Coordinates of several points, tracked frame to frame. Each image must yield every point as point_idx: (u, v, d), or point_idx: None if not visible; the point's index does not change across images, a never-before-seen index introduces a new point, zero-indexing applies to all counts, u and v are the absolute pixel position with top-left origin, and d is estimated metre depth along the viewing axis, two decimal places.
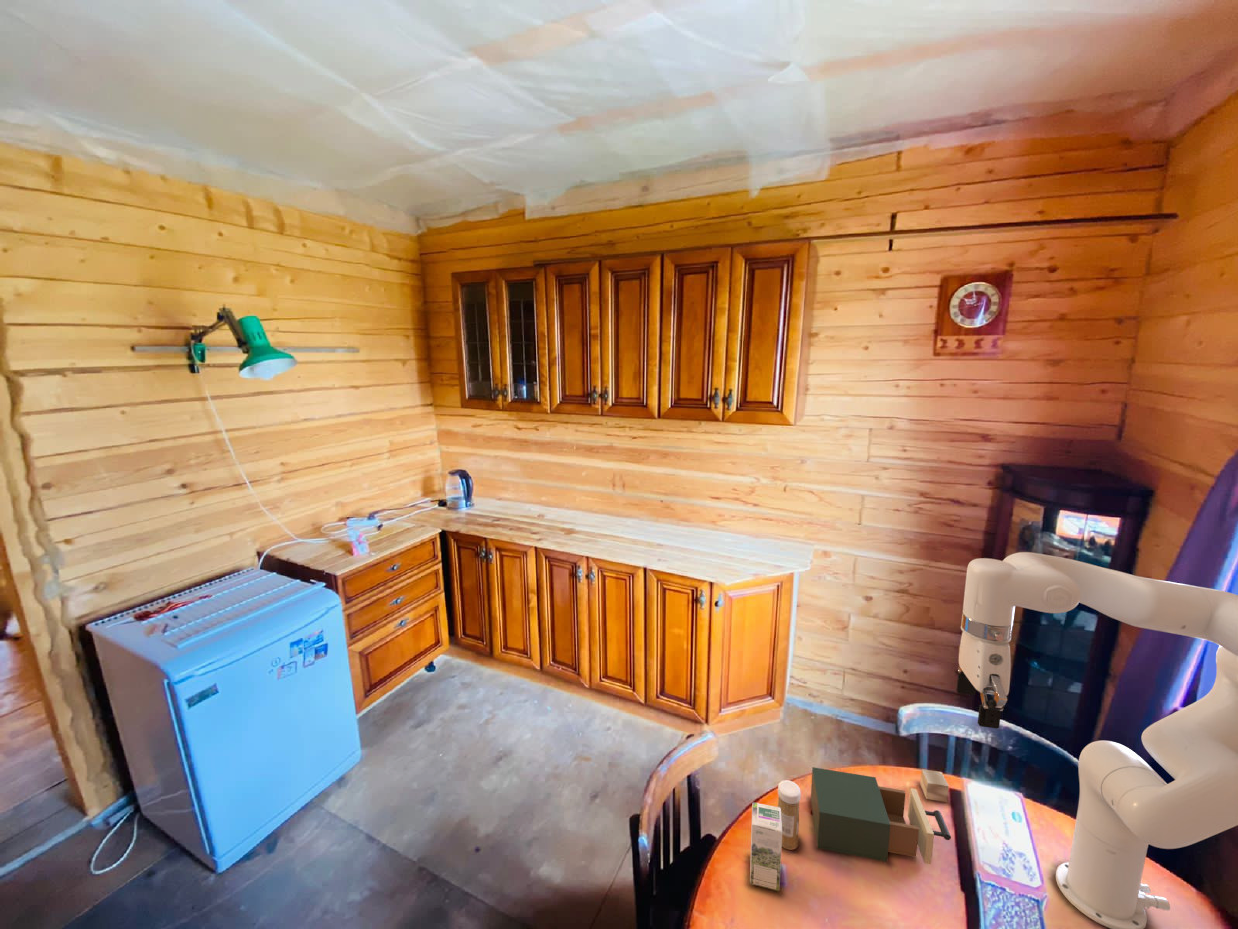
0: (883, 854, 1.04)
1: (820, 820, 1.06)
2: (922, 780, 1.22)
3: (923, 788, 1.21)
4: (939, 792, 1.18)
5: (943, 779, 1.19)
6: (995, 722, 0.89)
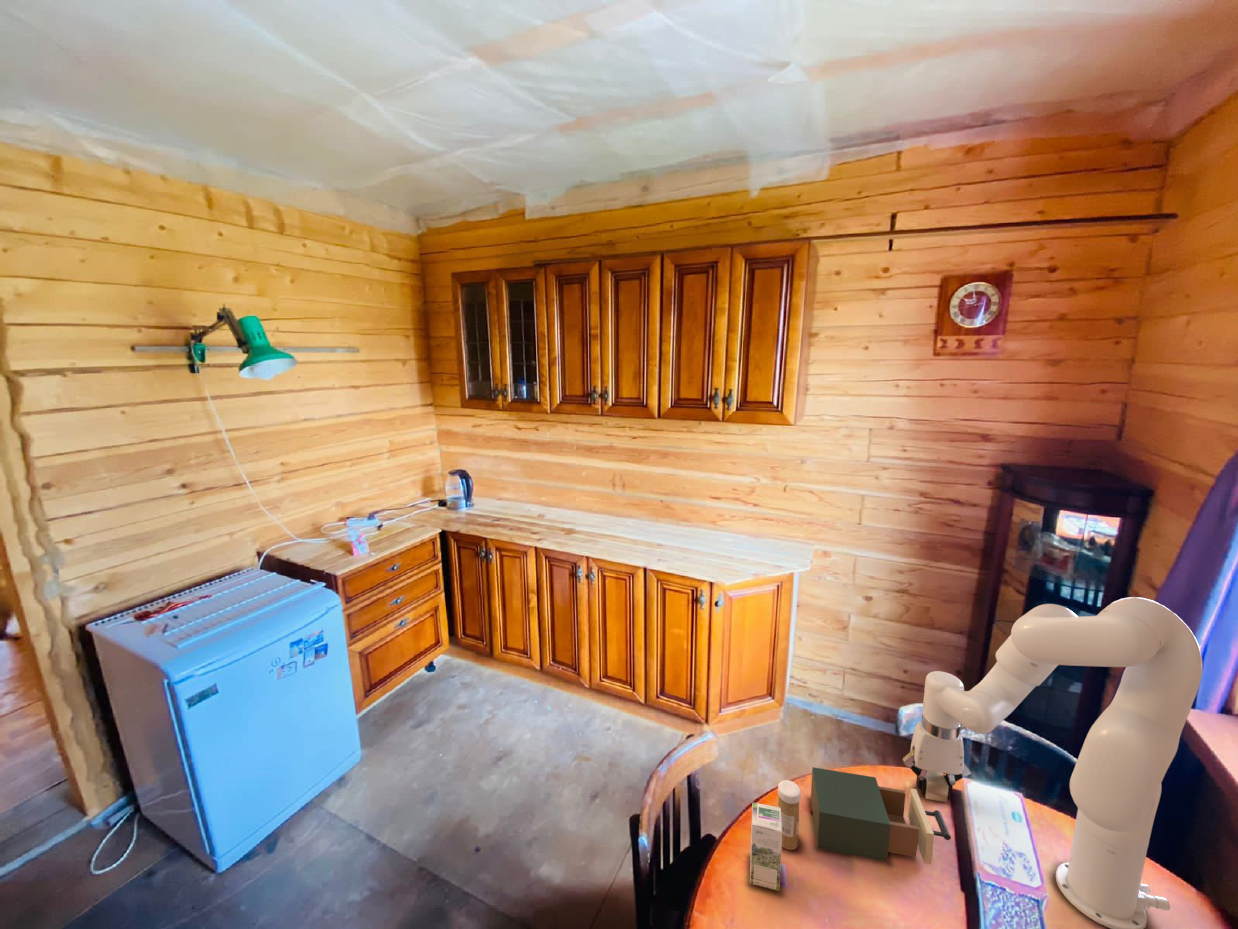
0: (883, 854, 1.04)
1: (820, 820, 1.06)
2: None
3: None
4: (939, 792, 1.18)
5: (943, 779, 1.19)
6: None
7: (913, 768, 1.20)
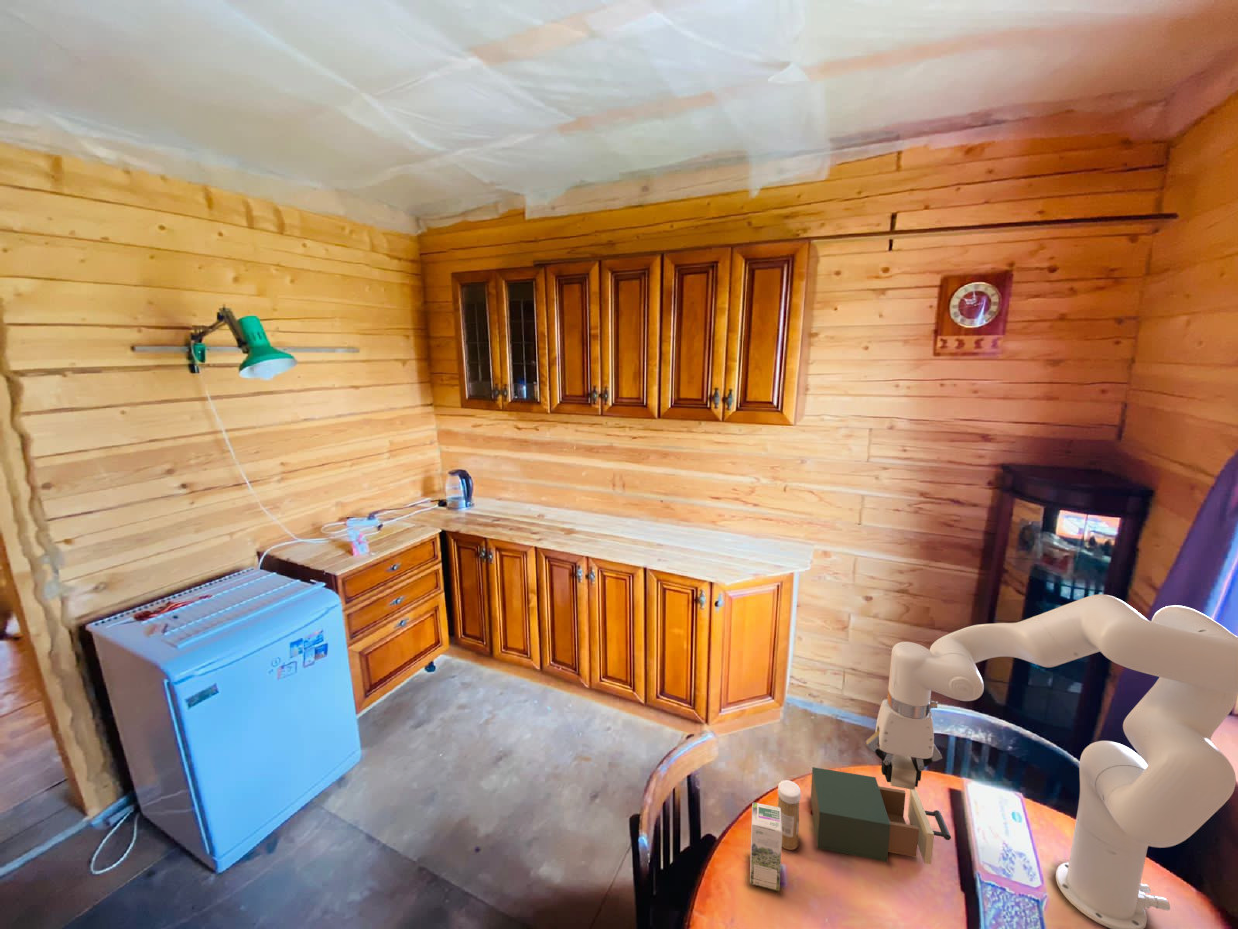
0: (883, 854, 1.04)
1: (820, 820, 1.06)
2: None
3: None
4: (906, 778, 1.04)
5: (911, 764, 1.05)
6: None
7: (877, 751, 1.06)
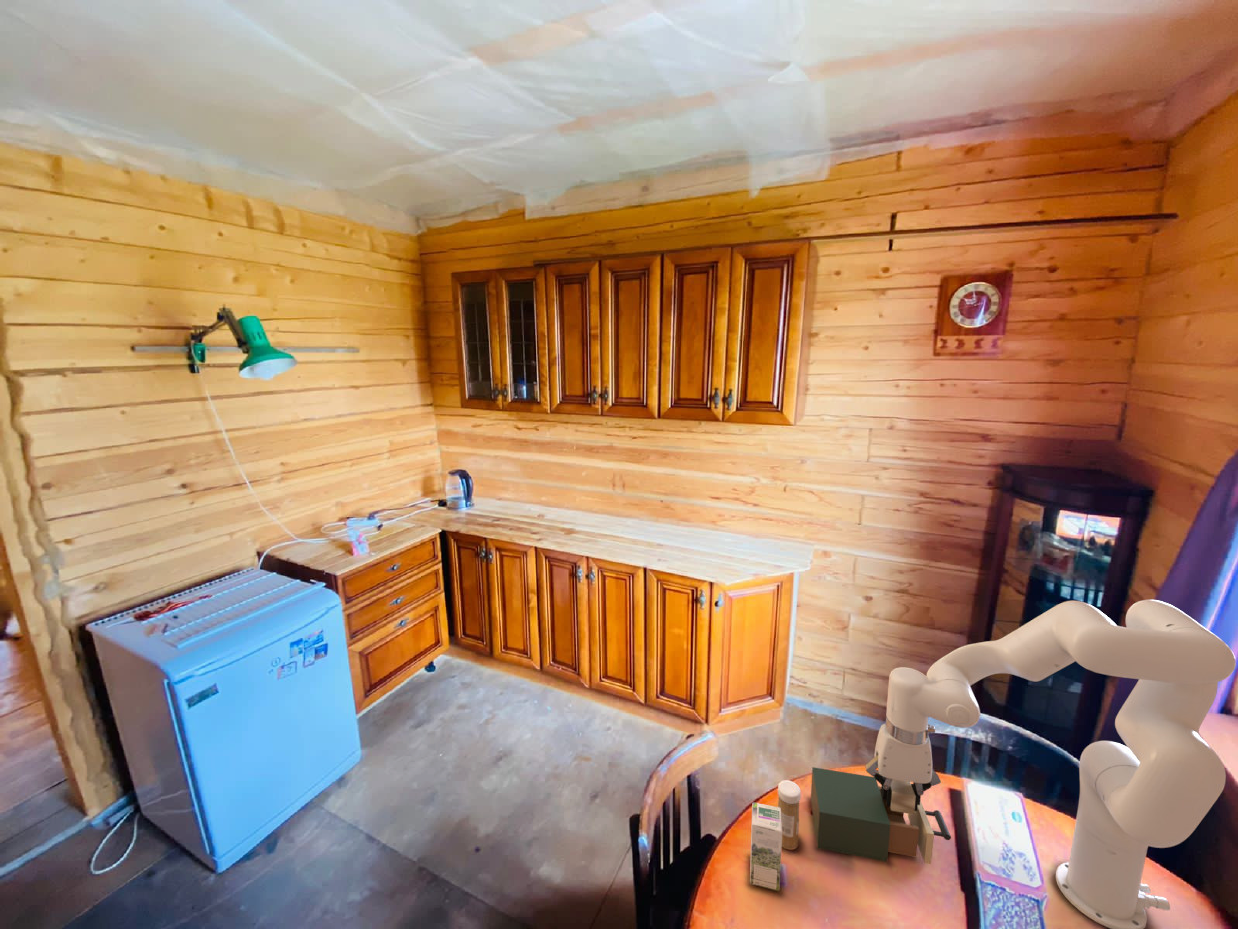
0: (883, 854, 1.04)
1: (820, 820, 1.06)
2: None
3: None
4: (905, 803, 1.05)
5: (910, 788, 1.06)
6: None
7: (877, 776, 1.07)
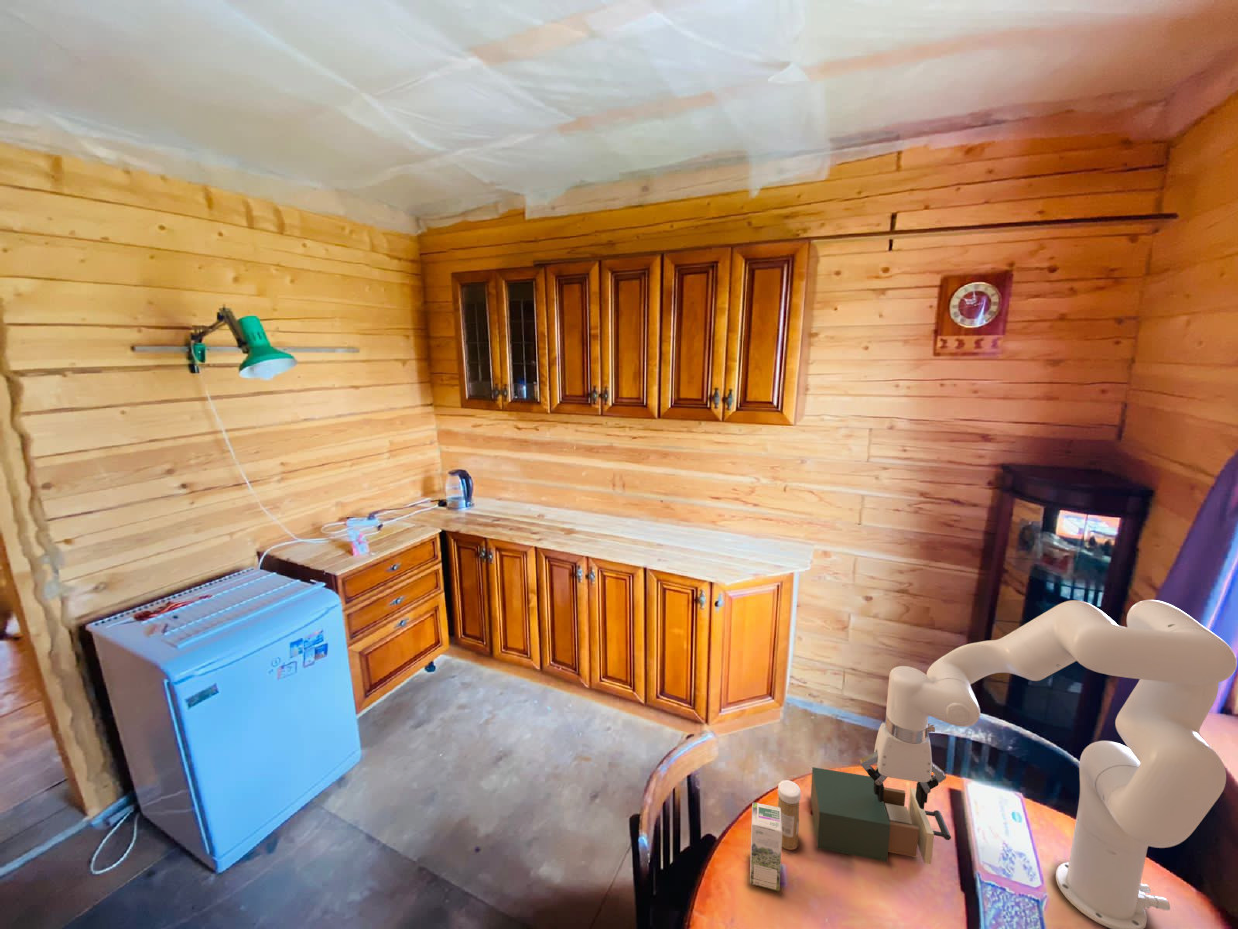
0: (883, 854, 1.04)
1: (820, 820, 1.06)
2: None
3: None
4: None
5: (907, 815, 1.07)
6: None
7: (869, 771, 1.07)
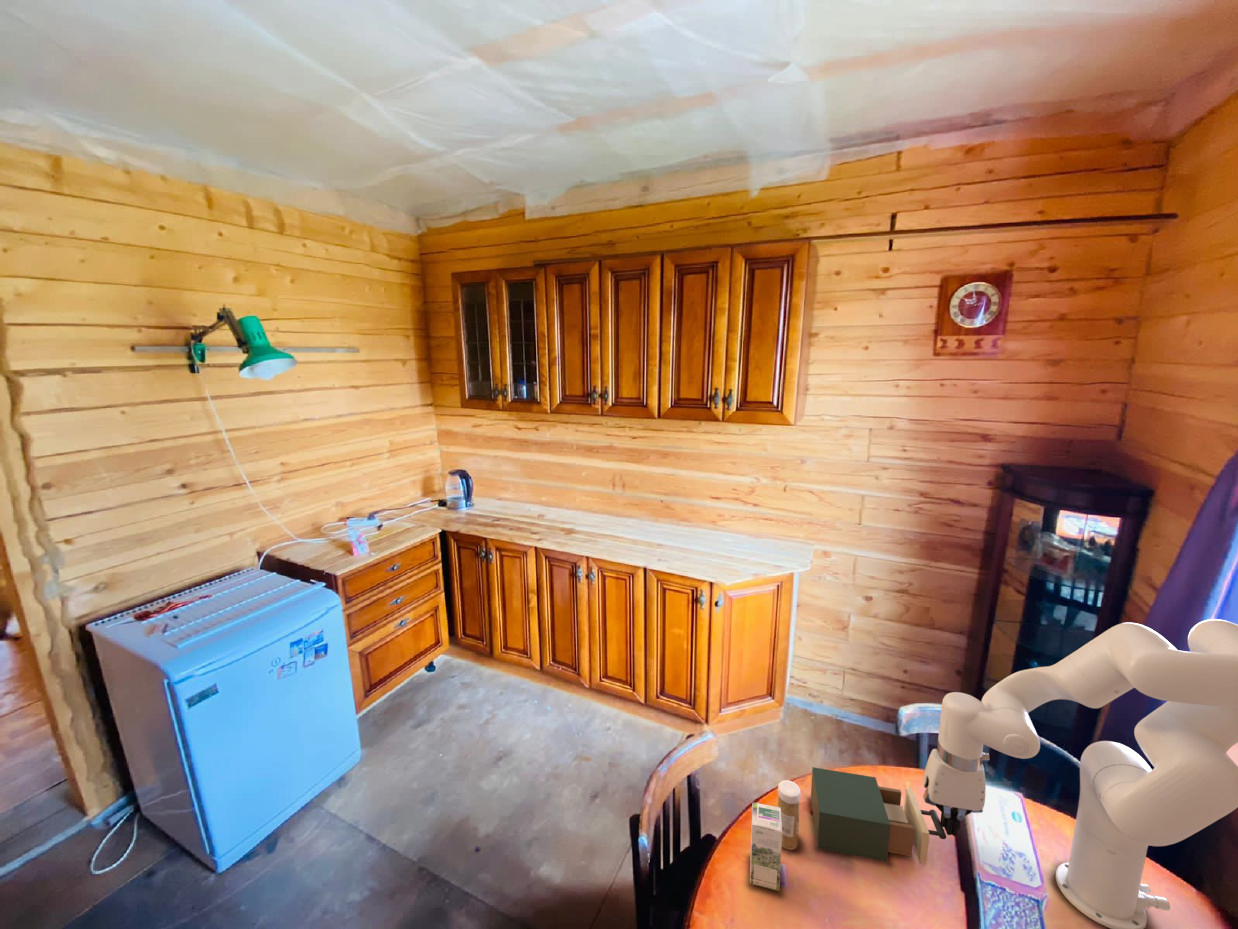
0: (883, 854, 1.04)
1: (820, 820, 1.06)
2: None
3: None
4: None
5: (903, 815, 1.08)
6: None
7: (938, 804, 1.05)
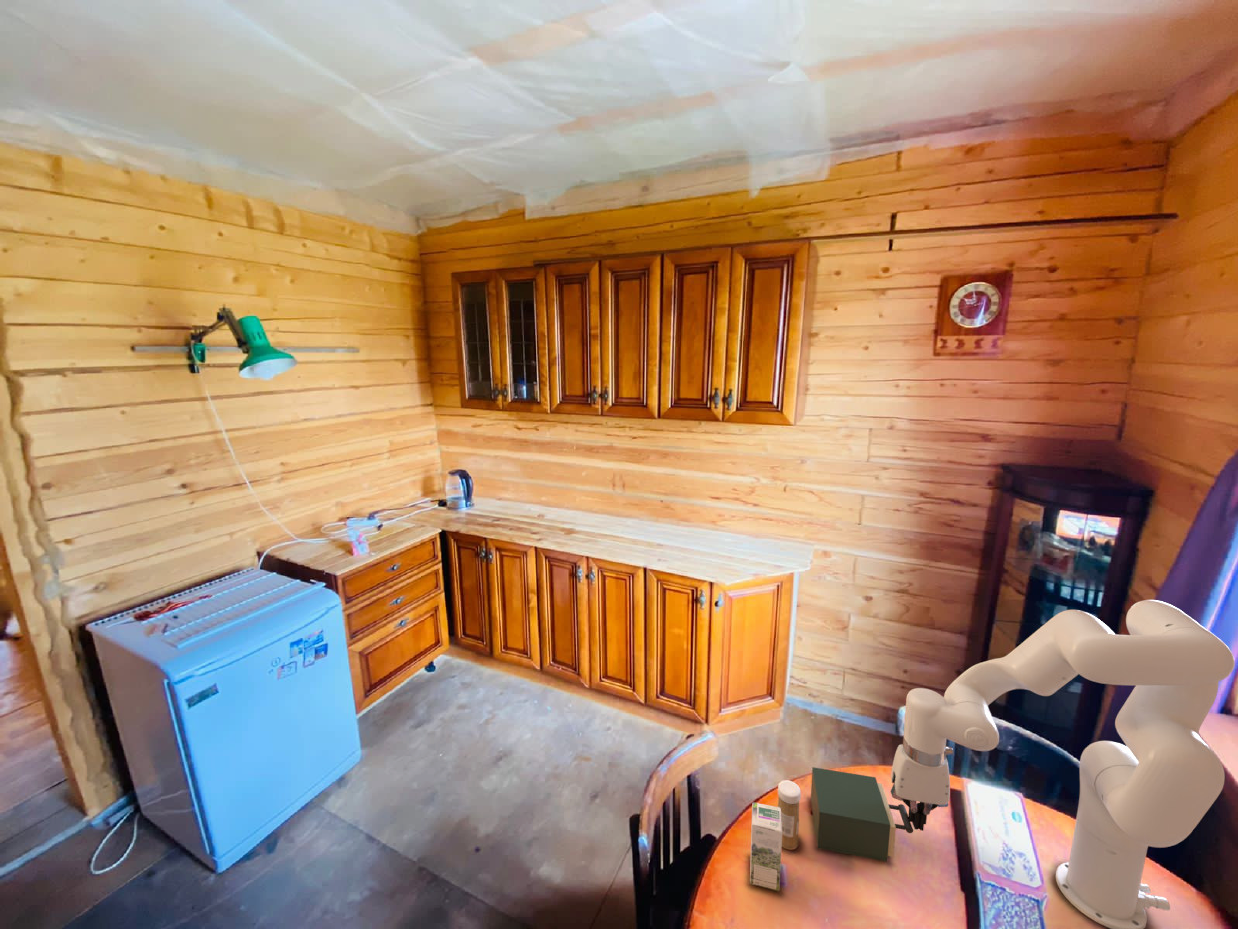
0: (883, 854, 1.04)
1: (820, 820, 1.06)
2: None
3: None
4: None
5: None
6: None
7: (904, 799, 1.06)
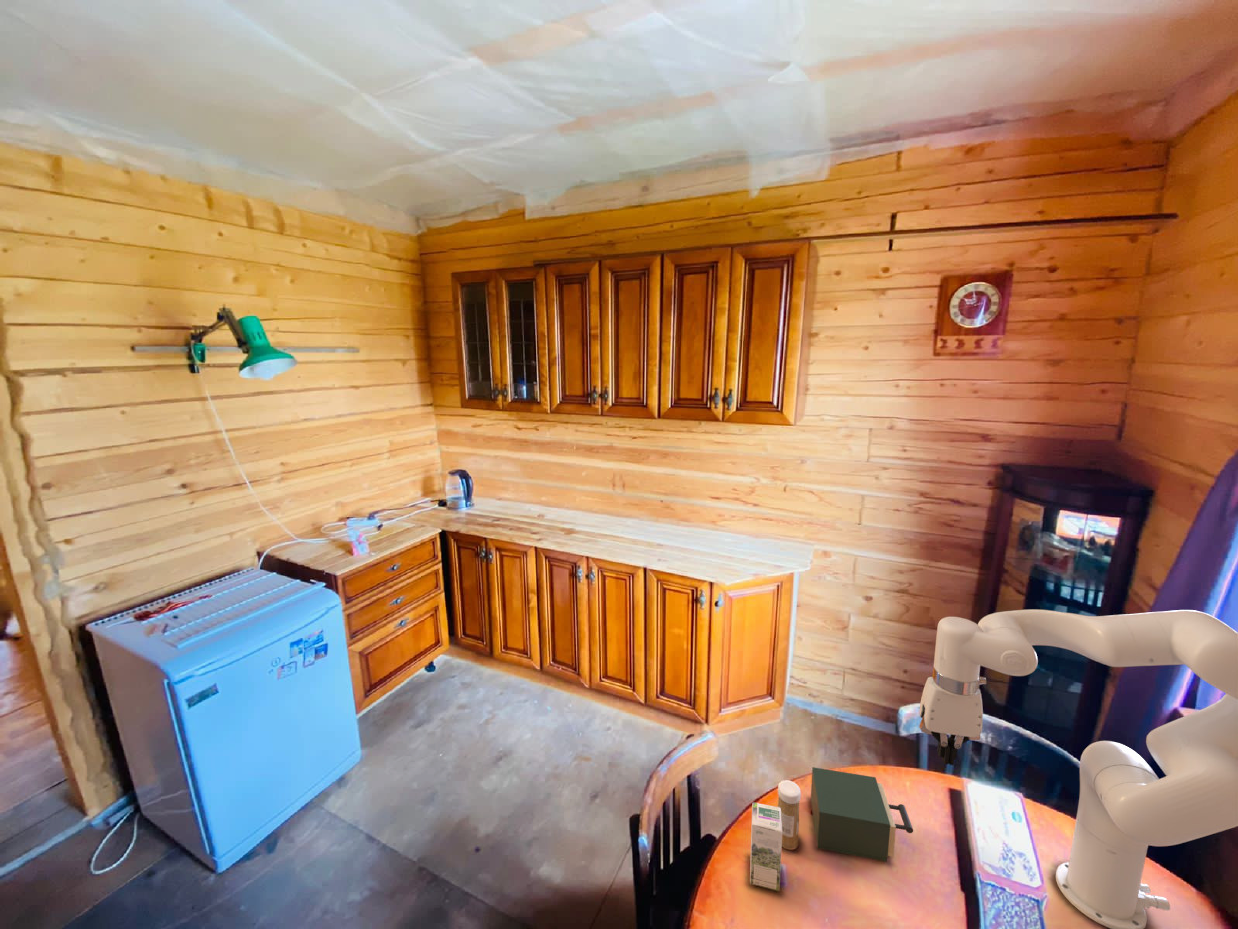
0: (883, 854, 1.04)
1: (820, 820, 1.06)
2: None
3: None
4: None
5: None
6: None
7: (934, 733, 1.02)
